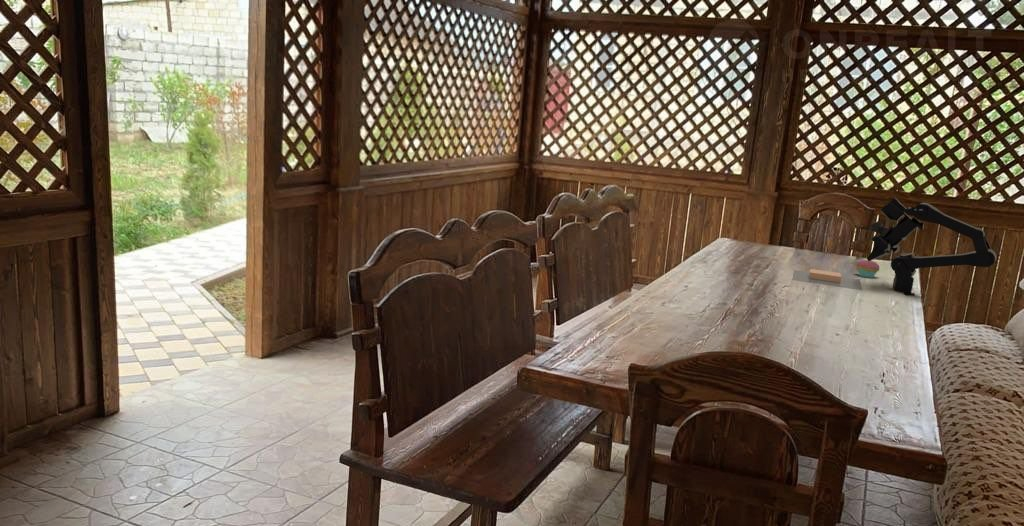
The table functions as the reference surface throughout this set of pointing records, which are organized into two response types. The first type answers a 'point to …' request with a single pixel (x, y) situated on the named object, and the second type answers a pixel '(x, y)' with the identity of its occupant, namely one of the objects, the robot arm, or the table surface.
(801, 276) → the board
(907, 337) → the table surface
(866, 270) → the cupcake
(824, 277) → the tile
